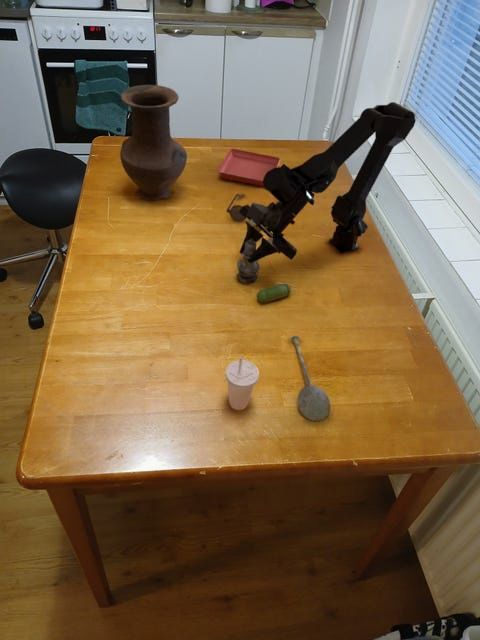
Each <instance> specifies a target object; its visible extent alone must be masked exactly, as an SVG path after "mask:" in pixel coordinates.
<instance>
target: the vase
mask: <svg viewBox="0 0 480 640" xmlns="http://www.w3.org/2000/svg"><path fill="white" fill-rule="evenodd" d="M120 98H121V101H122V103H123V104H124V105H126V106H129V107H130V109H131V121H132V135H130V136H129V137H127V138H126V139H125V140H123V142H122V144H121V148H120V152H119V157H120V162H121V166H122V168H123V170H124V172H125V173H126V174H127V176H128V177H129V178H130V180H131V181H132V182H133V183H134V184H135V185H136V186H137V187H138V188H139V189H138V195H139V196H140V197H141V198H142V199H144V200H146V201H151V202H153V201H158V200H162V199H167V198H169V197H170V196H171V194H172V191H171V189H170V188H171V186H173V185H174V184H175V182H176V181H177V180H178V179H179V178H180V177H181V175H182V174H183V173H184V170H185V167H186V165H187V161H188V153H187V150H186V149H185V147H184V146H183V145H182V144H181V143H179V142H177V141H176V140H174V139H173V138H172V135H171V125H170V122H171V121H170V119H171V117H170V107H172V106H174V105H176V104H177V103H178V101H179V94H178V92H176V91H175V90H174V89H172V88H170V87H167V86H164V85H159V84H141V85H134V86H130V87H128V88H126V89H124V90H123V91H122V93H121V95H120Z"/></svg>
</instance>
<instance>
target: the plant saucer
mask: <svg viewBox="0 0 480 640" xmlns="http://www.w3.org/2000/svg"><path fill="white" fill-rule="evenodd" d="M280 162H281V157H279V156H276V155H275V156H273V155H268V154H263V153H259V152H253V151H249V150H243V149H238V148H230V149H229V150H228V152H227V153H226V155H225V157H224V159H223V161H222V162H221V164H220V166H219V168H218V170H217V173H219V175H220V176H221V177H222V178H223V179H224V180H231V181H235V182H239V183H246V184H251V185H254V186H259V187H264V186H263V179H264V176H265V175H266V173H267V172H268V171H270V170H271V169H273V168H277V167H279V164H280Z"/></svg>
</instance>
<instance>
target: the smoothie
mask: <svg viewBox="0 0 480 640" xmlns="http://www.w3.org/2000/svg"><path fill="white" fill-rule="evenodd" d="M243 358H244V357H243V356H239V359H238V360H234V361H232V362H230V363H229V364H228V365H227V367H226V368H225V373H224V377H225V380H226V383H227V392H228V401H229V406H230V407H231V408H232V409H233V410H236V411H242V410H244V409H246V408H247V406H248V404H249V402H250V398H251V396H252V393H253V390H254V388H255V386H256V384H257V383H258V381H259V378H260V377H259V376H260V372H259V369H258V366H256V365H255V364H254V363H253V362H251V361H249V360H245V359H243Z"/></svg>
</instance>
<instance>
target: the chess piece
mask: <svg viewBox="0 0 480 640" xmlns="http://www.w3.org/2000/svg"><path fill="white" fill-rule="evenodd" d="M256 249H257V242H255V241H253V240H252V238H251V239H250V240H248V241H246V242H245V249H244V251H243V253H242V254H241V255H242V256H243V258H242V259H240V260H238V261H237V263H236V268H237V270H238V272H237V273H236V277H237V279H238V281H239V282H242V283H244V284H252V283H255V282H256V281H257V280H258V274H257V273H258V272H259V270H260V268H261V265H260V263H259V261H258V260H257V261H255V262H252V263H249V262H248V260H249V258H250V257H251V255H252V254H253V253H254V252H255V251H256Z"/></svg>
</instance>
